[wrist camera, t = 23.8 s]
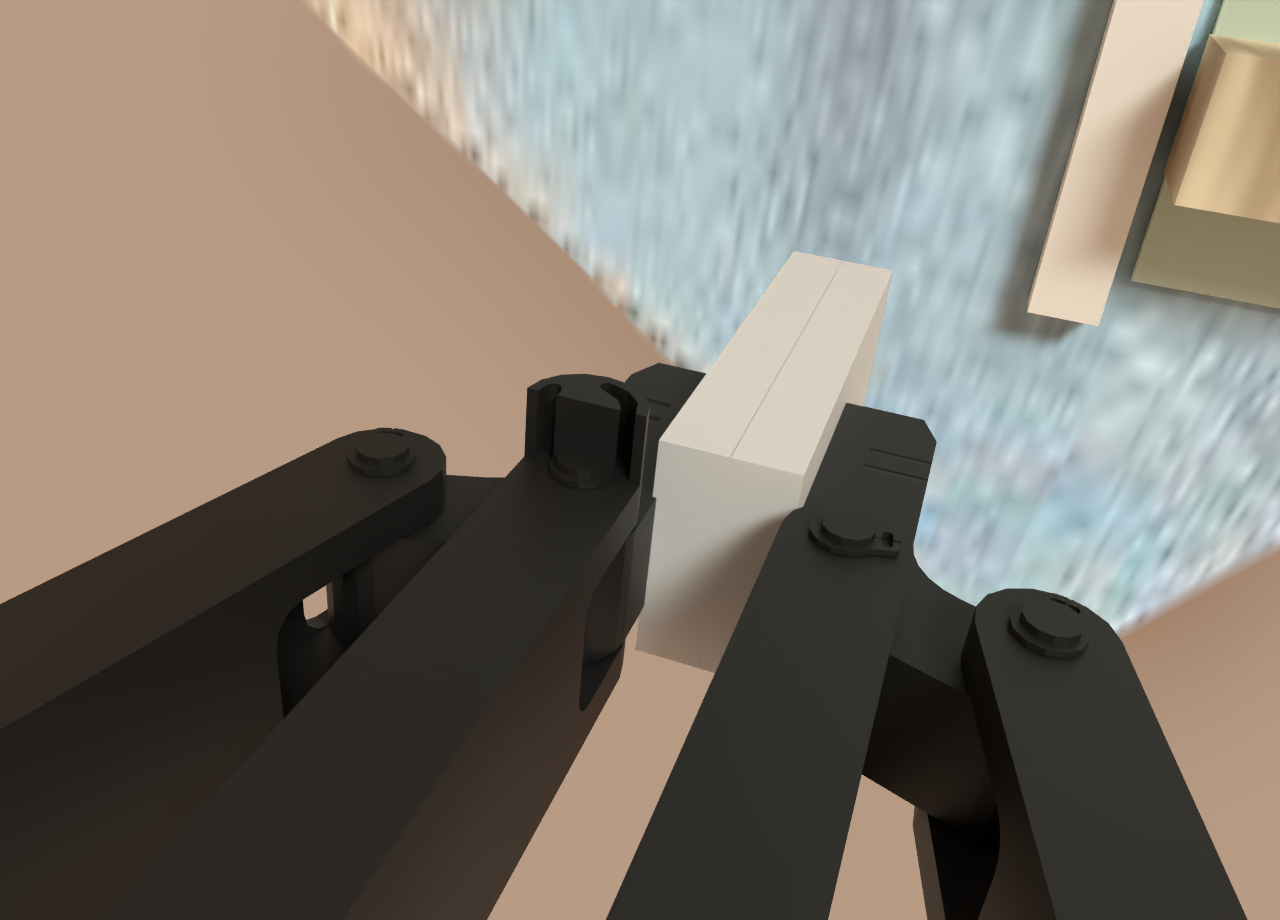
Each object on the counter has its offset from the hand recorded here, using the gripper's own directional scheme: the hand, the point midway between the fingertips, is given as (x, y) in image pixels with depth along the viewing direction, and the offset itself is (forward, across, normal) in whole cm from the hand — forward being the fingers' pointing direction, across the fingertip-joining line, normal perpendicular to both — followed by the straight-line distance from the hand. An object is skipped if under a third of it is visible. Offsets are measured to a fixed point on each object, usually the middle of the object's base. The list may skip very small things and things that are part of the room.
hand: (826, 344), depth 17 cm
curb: (+26, +6, 0) cm, 27 cm away
